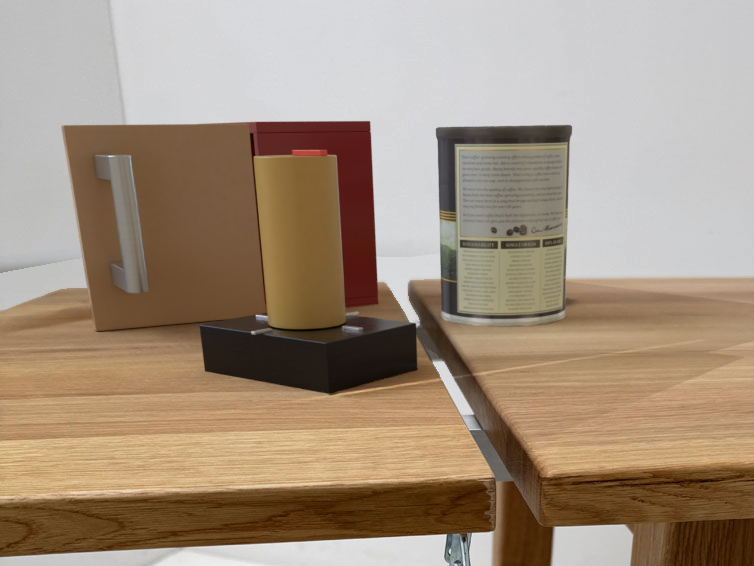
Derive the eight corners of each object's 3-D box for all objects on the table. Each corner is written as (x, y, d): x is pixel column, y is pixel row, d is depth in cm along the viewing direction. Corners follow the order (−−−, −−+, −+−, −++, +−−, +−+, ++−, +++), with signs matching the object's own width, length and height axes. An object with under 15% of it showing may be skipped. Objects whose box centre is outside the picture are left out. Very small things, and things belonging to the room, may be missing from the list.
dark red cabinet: (273, 316, 85) (256, 121, 79) (214, 297, 95) (195, 124, 89) (378, 305, 90) (370, 120, 84) (312, 288, 100) (300, 123, 94)
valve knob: (252, 324, 63) (235, 150, 59) (307, 314, 67) (295, 149, 62) (307, 332, 60) (293, 150, 56) (362, 321, 64) (353, 149, 60)
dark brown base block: (198, 374, 65) (192, 323, 63) (300, 351, 71) (296, 304, 70) (323, 397, 59) (319, 341, 57) (422, 370, 65) (421, 319, 64)
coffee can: (413, 317, 83) (407, 126, 77) (503, 303, 90) (504, 125, 84) (502, 333, 77) (503, 124, 71) (592, 316, 83) (600, 124, 77)
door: (292, 327, 79) (276, 122, 73) (112, 344, 73) (78, 124, 67) (262, 314, 85) (245, 123, 79) (93, 329, 79) (60, 125, 73)
